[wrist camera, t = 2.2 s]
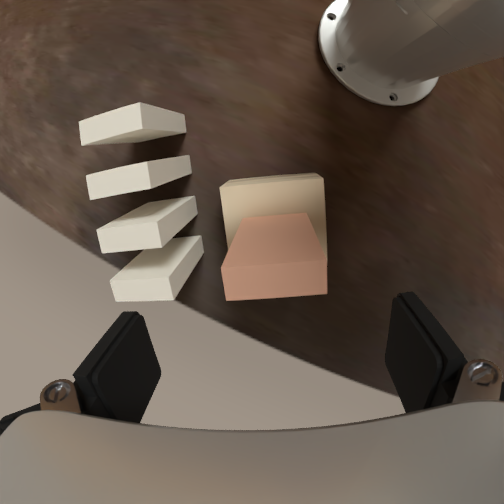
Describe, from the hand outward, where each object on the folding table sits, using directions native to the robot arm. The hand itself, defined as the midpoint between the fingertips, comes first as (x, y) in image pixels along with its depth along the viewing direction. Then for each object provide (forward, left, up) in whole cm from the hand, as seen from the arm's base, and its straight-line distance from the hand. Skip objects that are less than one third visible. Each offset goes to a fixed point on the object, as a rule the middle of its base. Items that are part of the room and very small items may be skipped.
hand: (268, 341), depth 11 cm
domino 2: (-6, -10, -19) cm, 22 cm away
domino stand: (0, 0, -19) cm, 19 cm away
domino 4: (+2, -10, -19) cm, 22 cm away
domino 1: (-10, -10, -19) cm, 24 cm away
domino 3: (-2, -10, -19) cm, 22 cm away
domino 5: (0, 0, -14) cm, 14 cm away
